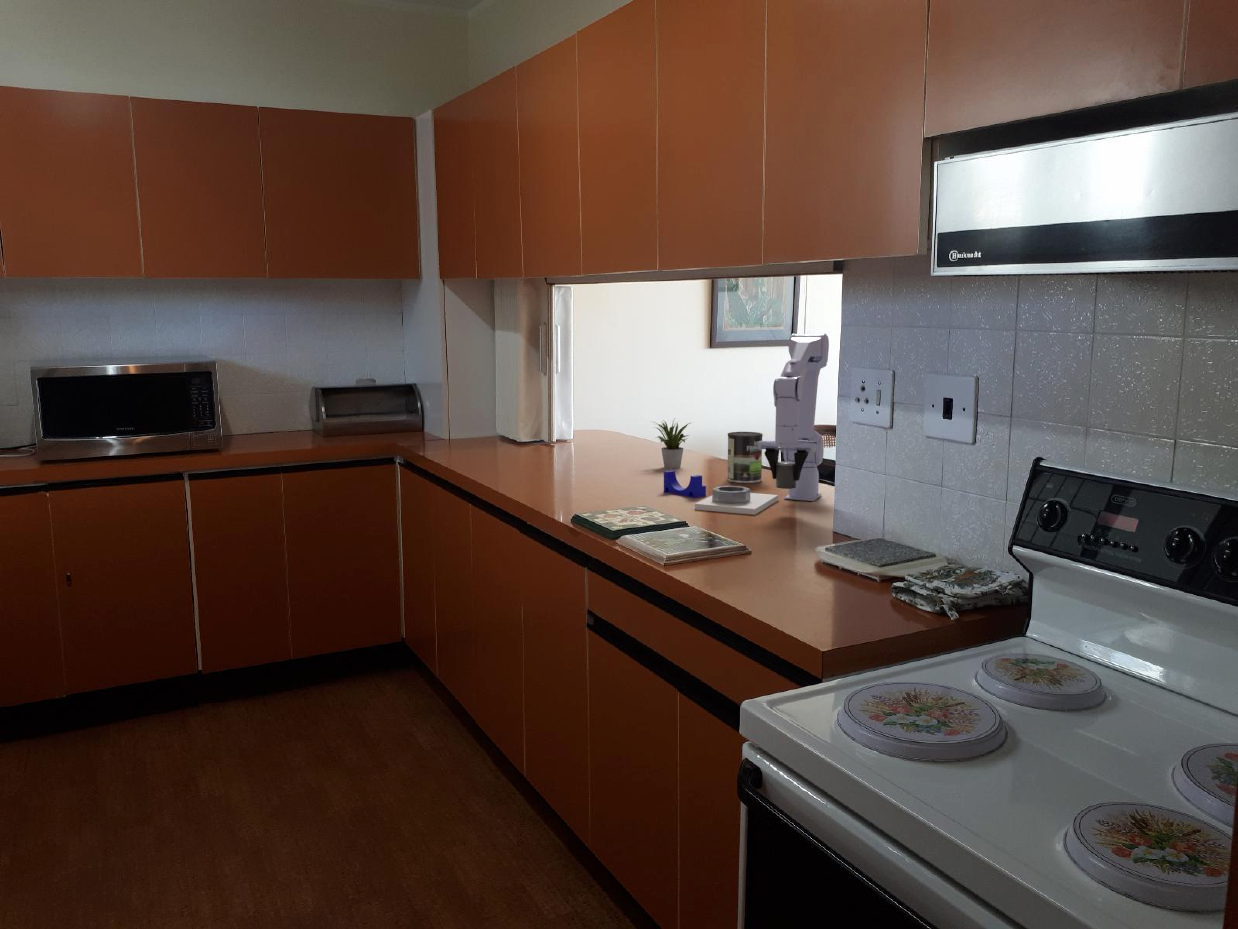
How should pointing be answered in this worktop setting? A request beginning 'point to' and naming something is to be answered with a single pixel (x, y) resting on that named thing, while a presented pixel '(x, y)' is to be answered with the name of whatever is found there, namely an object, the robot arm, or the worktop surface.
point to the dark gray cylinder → (785, 475)
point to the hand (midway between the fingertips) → (786, 479)
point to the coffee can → (744, 457)
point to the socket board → (739, 508)
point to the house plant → (672, 445)
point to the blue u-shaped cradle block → (673, 487)
